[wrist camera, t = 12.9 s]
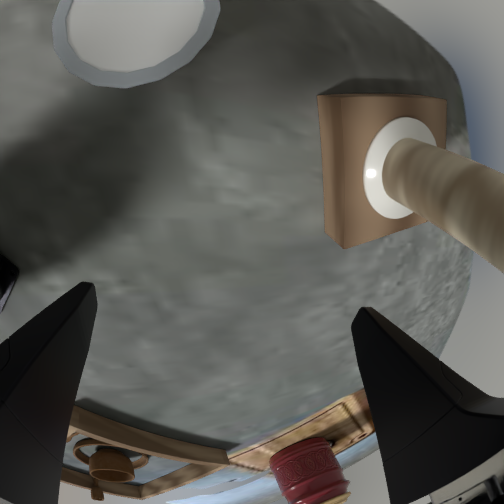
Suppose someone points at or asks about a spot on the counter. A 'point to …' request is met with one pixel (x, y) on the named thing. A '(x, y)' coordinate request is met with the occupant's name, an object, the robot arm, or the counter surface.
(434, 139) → the walnut plinth
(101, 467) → the place setting
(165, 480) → the oak tray rim
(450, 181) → the birch pillar
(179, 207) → the counter surface
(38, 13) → the counter surface
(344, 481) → the canister
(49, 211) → the counter surface
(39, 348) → the robot arm
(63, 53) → the white short cylinder
